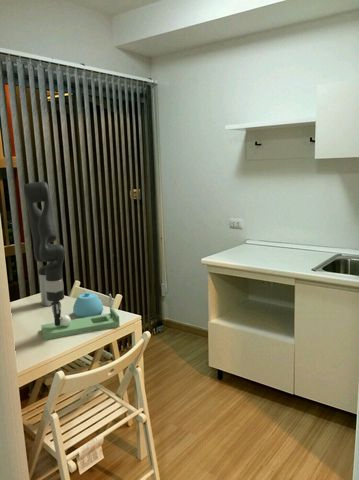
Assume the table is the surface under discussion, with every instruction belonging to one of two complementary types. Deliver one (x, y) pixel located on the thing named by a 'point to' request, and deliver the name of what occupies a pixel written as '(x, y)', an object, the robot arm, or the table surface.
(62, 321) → the ball
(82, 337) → the table surface
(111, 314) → the flag pin
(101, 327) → the mini golf green
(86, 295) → the sugar bowl
